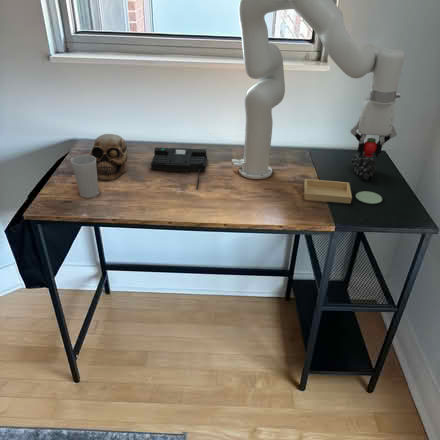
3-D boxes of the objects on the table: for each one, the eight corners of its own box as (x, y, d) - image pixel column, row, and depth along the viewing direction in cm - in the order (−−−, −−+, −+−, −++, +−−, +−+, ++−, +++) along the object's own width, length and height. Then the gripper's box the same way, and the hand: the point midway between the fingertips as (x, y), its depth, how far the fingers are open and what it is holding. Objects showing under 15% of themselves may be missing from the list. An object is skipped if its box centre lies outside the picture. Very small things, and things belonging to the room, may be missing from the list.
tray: (303, 200, 153) (305, 193, 151) (303, 186, 161) (304, 178, 160) (350, 204, 151) (352, 197, 149) (347, 189, 160) (349, 182, 158)
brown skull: (101, 182, 159) (95, 144, 152) (84, 170, 171) (77, 134, 164) (141, 173, 167) (137, 137, 160) (121, 162, 179) (117, 128, 172)
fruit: (376, 160, 158) (372, 144, 169) (352, 166, 160) (349, 149, 171) (379, 183, 163) (374, 165, 174) (355, 187, 165) (352, 170, 176)
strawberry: (361, 157, 144) (365, 141, 141) (360, 151, 147) (363, 136, 144) (375, 158, 143) (379, 142, 140) (374, 152, 147) (377, 137, 144)
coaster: (356, 203, 152) (356, 202, 151) (354, 191, 159) (354, 190, 158) (383, 206, 151) (384, 204, 151) (380, 194, 158) (380, 192, 158)
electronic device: (144, 187, 158) (143, 174, 154) (157, 154, 181) (156, 142, 178) (203, 189, 157) (203, 176, 154) (207, 156, 181) (208, 143, 178)
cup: (105, 190, 155) (100, 157, 148) (93, 200, 149) (87, 166, 142) (85, 186, 157) (79, 153, 149) (72, 196, 151) (65, 162, 144)
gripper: (408, 94, 136) (392, 152, 147) (352, 90, 138) (341, 148, 149) (413, 101, 130) (396, 161, 142) (354, 97, 132) (342, 157, 143)
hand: (368, 154), depth 145 cm, fingers closed on strawberry, 4 cm apart
